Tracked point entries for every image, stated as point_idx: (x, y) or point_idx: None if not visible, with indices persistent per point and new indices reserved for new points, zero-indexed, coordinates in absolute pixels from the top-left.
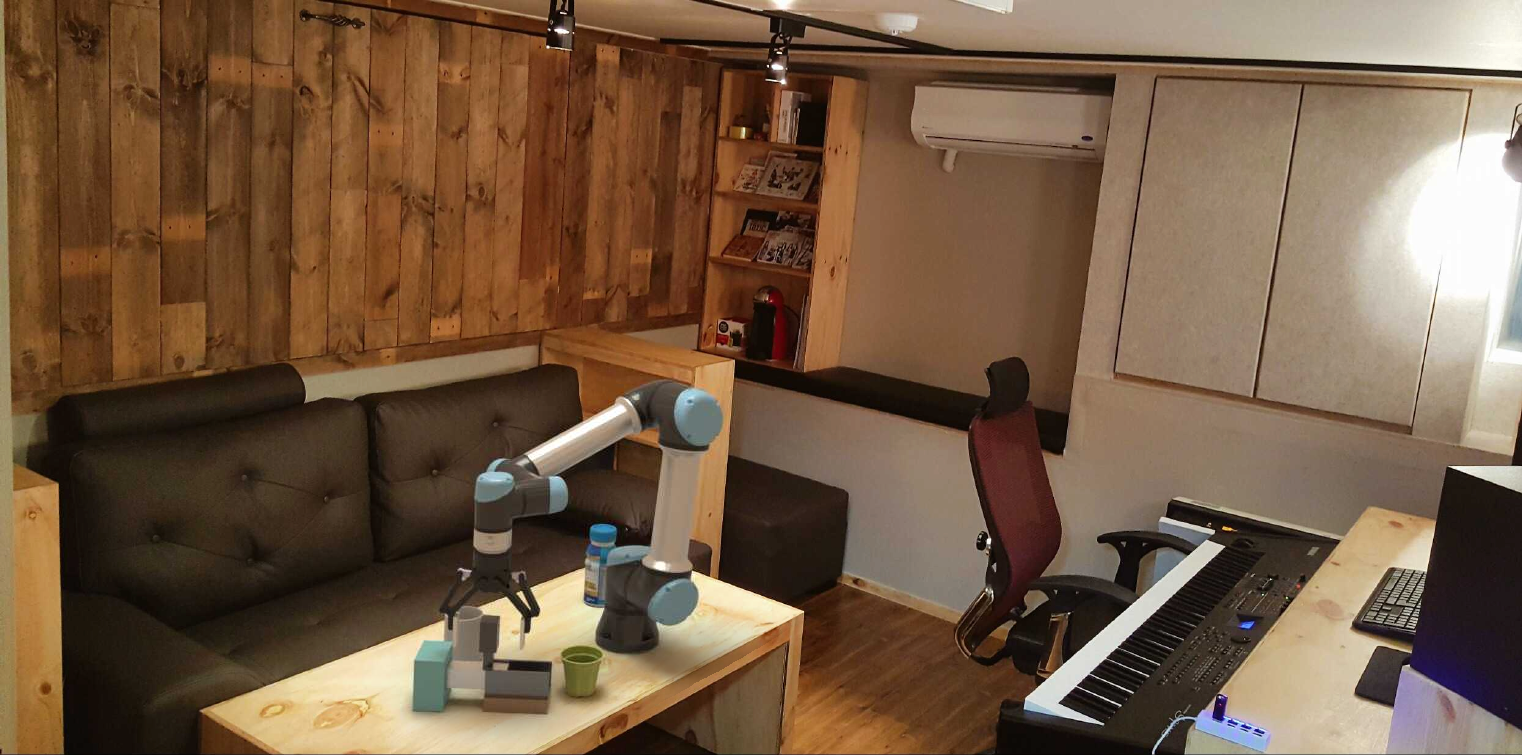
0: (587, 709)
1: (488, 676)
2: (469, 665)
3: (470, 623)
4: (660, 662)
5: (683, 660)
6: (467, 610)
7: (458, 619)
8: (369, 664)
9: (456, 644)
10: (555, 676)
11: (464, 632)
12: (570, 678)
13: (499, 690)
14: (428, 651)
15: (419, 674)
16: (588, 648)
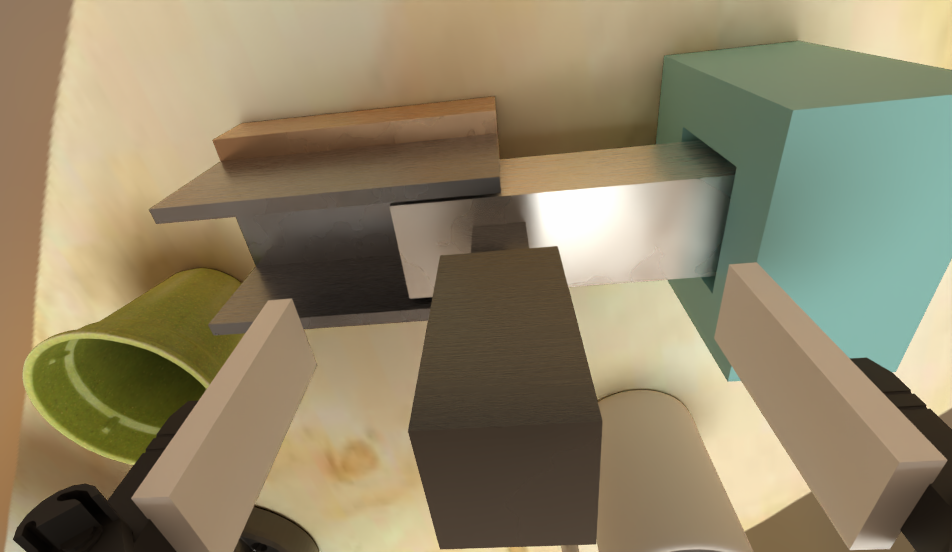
0: (121, 189)
1: (480, 167)
2: (601, 239)
3: (648, 536)
4: (102, 477)
5: (56, 491)
6: None
7: (822, 468)
8: (932, 363)
9: (733, 282)
10: (333, 378)
11: (659, 496)
12: (191, 306)
13: (427, 148)
14: (891, 247)
15: (901, 71)
16: None
